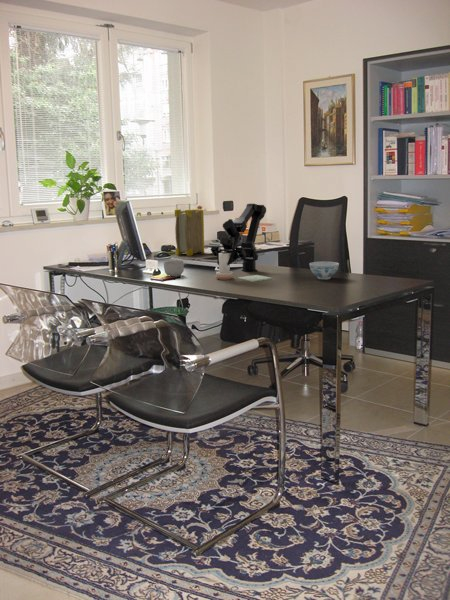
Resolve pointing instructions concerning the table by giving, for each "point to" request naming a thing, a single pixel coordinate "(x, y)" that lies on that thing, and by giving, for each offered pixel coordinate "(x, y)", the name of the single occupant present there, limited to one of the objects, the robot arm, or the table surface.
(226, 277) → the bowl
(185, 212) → the decorative book
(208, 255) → the table surface
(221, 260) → the cover
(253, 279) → the mat
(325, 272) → the chinaware
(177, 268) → the teacup
